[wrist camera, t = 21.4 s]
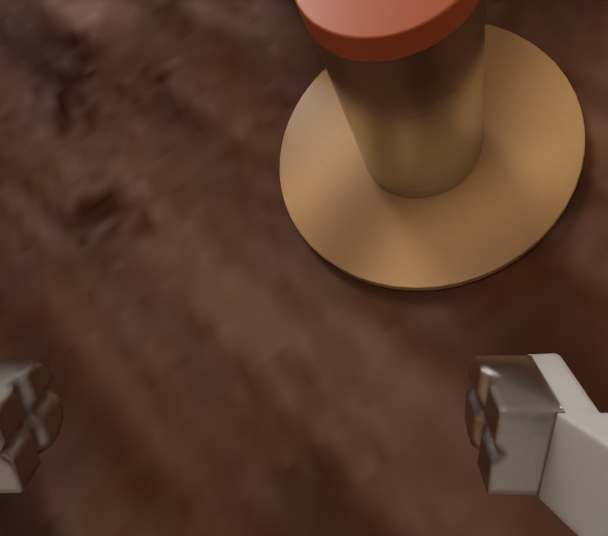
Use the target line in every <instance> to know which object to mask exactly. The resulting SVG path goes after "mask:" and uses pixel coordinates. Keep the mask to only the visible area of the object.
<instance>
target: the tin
mask: <svg viewBox="0 0 608 536" xmlns="http://www.w3.org/2000/svg"><path fill="white" fill-rule="evenodd" d="M295 2H296V5H297V7H298V9H299V12H300V14H301V17H302V19H303V21H304V24H305V26H306V28H307V30H308V31H309V33H310V34H311V36H312V37H313V38H314V40H315V42H316V45H317V47H318V50H319V52H320V55H321V57H322V60H323V62H324V64H325V67H326V69H327V72H328V74H329V77H330V79H331V81H332V84H333V86H334V89H335V91H336V94H337V96H338V99H339V101H340V103H341V106H342V108H343V111H344V113H345V116H346V118H347V121H348V123H349V125H350V128H351V130H352V133H353V135H354V138H355V140H356V143H357V145H358V147H359V150H360V152H361V155H362V157H363V160H364V162H365V164H366V167H367V169H368V171H369V173H370V175H371V176H372V178H373V179H374V180H375V181H376V182H377V183H378V184H379V185H380V186H381V187H383V188H384V189H386V190H387V191H389V192H391V193H394V194H396V195H399V196H403V197H410V198H423V197H430V196H435V195H438V194H441V193H443V192H445V191H448V190H450V189H451V188H453V187H454V186H456V185H458V184H459V183H460V182H461V181H462V180H464V179H465V178H466V177H467V176H468V174H469V173H470V172H471V171H472V169H473V168H474V166H475V164H476V163H477V161H478V158H479V155H480V152H481V148H482V127H483V92H484V56H485V21H486V0H295Z"/></svg>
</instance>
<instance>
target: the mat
mask: <svg viewBox="0 0 608 536" xmlns="http://www.w3.org/2000/svg"><path fill="white" fill-rule="evenodd" d="M584 154H585V127H584V121H583V115H582V111H581V108H580V105H579V102H578V99H577V96H576V94H575V92H574V90H573V88H572V86H571V84H570V83H569V81H568V79H567V77H566V76H565V75H564V74H563V72H562V71H561V70H560V68H559V67H558V66H557V64H556V63H555V62H554V61H553V60H551V59H550V58H549V57H548V56H547V55H546V54H545V53H544V52H543V51H542V50H540V49H539V48H538V47H536V46H535V45H533V44H532V43H531V42H529V41H527V40H526V39H524V38H522V37H520V36H518V35H516V34H514V33H512V32H509V31H507V30H504V29H501V28H499V27H496V26H492V25H488V24H485V56H484V92H483V127H482V148H481V152H480V155H479V158H478V161H477V163H476V164H475V166H474V168H473V169H472V171H471V172H470V173H469V174H468V176H467V177H466V178H465V179H464V180H462V181H461V182H460V183H459V184H458V185H456V186H454V187H453V188H451V189H450V190H448V191H445V192H443V193H441V194H438V195H435V196H430V197H423V198H410V197H403V196H399V195H396V194H394V193H391V192H389V191H387V190H386V189H384V188H383V187H381V186H380V185H379V184H378V183H377V182H376V181H375V180H374V179H373V178H372V176H371V175H370V173H369V171H368V169H367V167H366V164H365V162H364V160H363V157H362V155H361V152H360V150H359V147H358V145H357V143H356V140H355V138H354V135H353V133H352V130H351V128H350V125H349V123H348V121H347V118H346V116H345V113H344V111H343V108H342V106H341V103H340V101H339V99H338V96H337V94H336V91H335V89H334V86H333V84H332V81H331V79H330V77H329V74H328V72H327V69H326V68H325V69H324V70H323V71H322V72H321V73H320V74H319V76H318V77H317V78H316V79H315V80H314V81H313V82H312V83H311V85H310V86H309V87H308V89H307V90H306V91H305V93H304V94H303V95H302V97H301V99H300V100H299V102H298V104H297V106H296V107H295V109H294V111H293V113H292V116H291V118H290V120H289V122H288V125H287V128H286V131H285V134H284V138H283V142H282V148H281V154H280V182H281V189H282V193H283V197H284V201H285V205H286V207H287V210H288V212H289V214H290V217H291V219H292V221H293V223H294V224H295V226H296V228H297V229H298V231H299V232H300V234H301V235H302V236H303V238H304V239H305V240H306V241H307V242H308V244H309V245H310V246H311V247H312V248H313V249H314V250H315V251H316V252H317V253H318V254H319V255H320V256H321V257H322V258H323V259H325V260H326V261H327V262H328V263H330V264H331V265H333V266H334V267H336V268H337V269H339V270H340V271H342V272H344V273H346V274H348V275H350V276H352V277H354V278H356V279H358V280H361V281H364V282H367V283H370V284H373V285H376V286H380V287H385V288H390V289H396V290H409V291H426V290H440V289H445V288H451V287H456V286H461V285H464V284H467V283H470V282H474V281H477V280H480V279H482V278H485V277H487V276H489V275H491V274H493V273H496V272H498V271H500V270H502V269H504V268H505V267H507V266H508V265H510V264H512V263H513V262H515V261H516V260H518V259H520V258H521V257H522V256H524V255H525V254H526V253H527V252H528V251H530V250H531V249H532V248H533V247H535V246H536V245H537V244H538V243H539V242H540V241H541V240H542V239H543V238H544V237H545V236H546V235H547V233H548V232H549V231H550V230H551V229H552V228H553V227H554V225H555V224H556V222H557V221H558V220H559V218H560V217H561V215H562V214H563V213H564V211H565V209H566V207H567V205H568V203H569V201H570V199H571V197H572V195H573V193H574V191H575V189H576V186H577V183H578V180H579V177H580V174H581V171H582V166H583V160H584Z"/></svg>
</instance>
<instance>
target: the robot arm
mask: <svg viewBox="0 0 608 536" xmlns="http://www.w3.org/2000/svg"><path fill="white" fill-rule="evenodd" d="M468 375H469V377H470V380H471V383H472V385H473V387H472V388H471V389H470V390H469V391H468V392H467V393H466V399H465V422H466V427H467V432H468V436H469V439H470V442H471V444H472V445H473V446H474V447H476V448H477V449H478V450H479V456H478V466H479V469H480V472H481V475H482V478H483V481H484V484H485V487H486V489H487V492H488V494H512V495H539V497H538V498H539V499H540V500H541V501H542V502H543V503H544V504H545V505H546V506H548V507H549V508H550V509H551V510H552V511H553V512H554V513H555V514H556V515H557V516H558V517H559V518H560V519H561V520H562V521H563V522H564V523H565V524H566V525H567V526H568V527H569V528H571V529H572V530H573V531H574V532H575V533H576V534H577V535H578V536H608V413H600V412H599V411H598V410H597V408H596V407H595V405H594V404H593V402H592V401H591V399H590V398H589V397H588V395H587V394H586V392H585V391H584V389H583V388H582V386H581V385H580V384H579V382H578V381H577V379H576V378H575V376H574V375H573V374H572V372H571V371H570V369H569V368H568V366H567V365H566V363H565V362H564V361H563V359H562V358H561V356H559V355H558V354H556V353H549V354H528V355H514V356H472V359H471V361H470V365H469V373H468ZM53 379H54V378H53V375H52V373H51V370H50V368H49V365H48V364H46V363H44V362H42V361H0V493H20V492H23V491H24V489H25V487H26V486H27V484H28V483H29V481H30V480H31V478H32V476H33V475H34V473H35V472H36V470H37V469H38V467H39V466H40V464H41V462H40V458H39V454H40V453H41V452H43V451H44V450H46V449H47V448H49V447H50V446H52V445H53V443H54V442H55V440H56V438H57V437H58V435H59V433H60V430H61V425H62V421H63V406H62V403H61V400H60V397H59V396H58V395H57V394H56V393H55V392H54V391H53V390H51V389H50V388H49V386H50V384H51V382H52V380H53Z"/></svg>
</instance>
